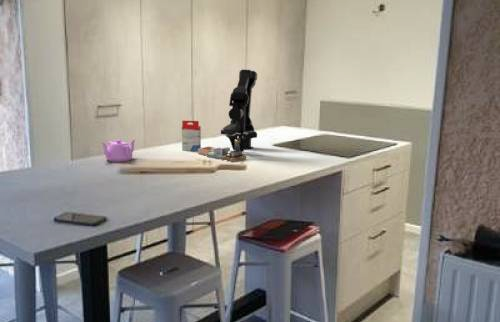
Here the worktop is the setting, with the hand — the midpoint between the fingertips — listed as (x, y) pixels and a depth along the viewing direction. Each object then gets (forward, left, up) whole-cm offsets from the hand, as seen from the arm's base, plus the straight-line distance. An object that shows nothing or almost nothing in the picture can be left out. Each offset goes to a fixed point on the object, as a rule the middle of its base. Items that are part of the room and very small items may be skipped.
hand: (238, 150), depth 251 cm
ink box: (+10, -22, -2) cm, 24 cm away
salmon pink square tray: (+11, -8, -2) cm, 14 cm away
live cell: (+11, +8, -2) cm, 14 cm away
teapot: (+49, -25, -2) cm, 55 cm away
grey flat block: (+11, 0, -2) cm, 11 cm away
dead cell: (0, 0, -2) cm, 2 cm away
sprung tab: (+11, +2, 0) cm, 11 cm away
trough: (+11, +8, -2) cm, 14 cm away
